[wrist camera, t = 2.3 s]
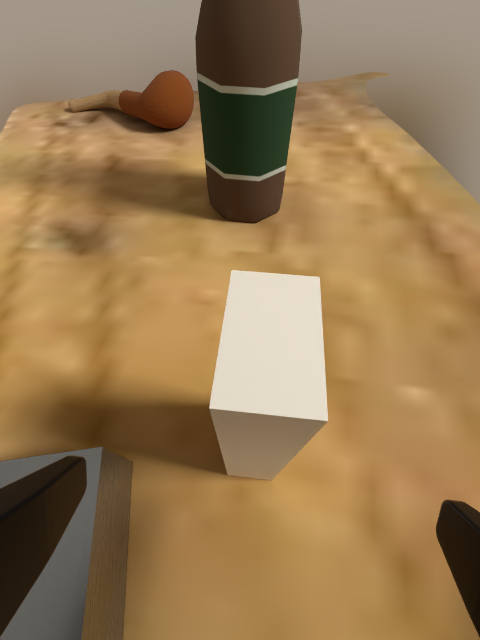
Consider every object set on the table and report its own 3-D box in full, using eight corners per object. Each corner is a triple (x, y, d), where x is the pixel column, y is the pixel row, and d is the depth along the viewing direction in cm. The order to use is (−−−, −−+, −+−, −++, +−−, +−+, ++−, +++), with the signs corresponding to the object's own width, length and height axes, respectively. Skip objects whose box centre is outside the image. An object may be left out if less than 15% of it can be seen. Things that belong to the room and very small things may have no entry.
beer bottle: (261, 235, 28) (319, -485, 8) (194, 209, 30) (103, -408, 10) (295, 193, 31) (395, -368, 11) (233, 172, 34) (226, -330, 14)
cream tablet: (271, 480, 17) (328, 421, 6) (227, 475, 17) (208, 408, 6) (274, 409, 19) (319, 277, 8) (235, 405, 19) (231, 270, 8)
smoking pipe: (188, 140, 38) (180, 85, 34) (55, 128, 40) (30, 75, 35) (200, 115, 42) (195, 64, 37) (79, 106, 44) (60, 55, 39)
